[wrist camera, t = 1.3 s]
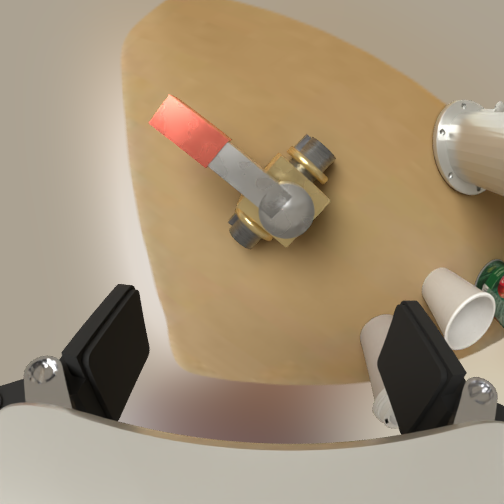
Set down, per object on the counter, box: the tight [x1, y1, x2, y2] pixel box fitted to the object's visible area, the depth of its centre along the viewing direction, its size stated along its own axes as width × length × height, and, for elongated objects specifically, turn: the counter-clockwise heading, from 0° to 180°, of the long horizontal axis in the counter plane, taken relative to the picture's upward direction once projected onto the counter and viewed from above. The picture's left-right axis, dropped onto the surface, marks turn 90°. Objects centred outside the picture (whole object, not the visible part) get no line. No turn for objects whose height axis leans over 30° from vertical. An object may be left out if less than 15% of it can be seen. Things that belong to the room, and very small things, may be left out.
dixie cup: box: [422, 268, 495, 350], centre depth 31 cm, size 8×8×10 cm
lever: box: [149, 95, 315, 239], centre depth 22 cm, size 4×15×2 cm, turn 50°
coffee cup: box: [360, 314, 399, 429], centre depth 32 cm, size 10×10×15 cm
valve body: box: [228, 134, 336, 249], centre depth 28 cm, size 13×6×8 cm, turn 140°
